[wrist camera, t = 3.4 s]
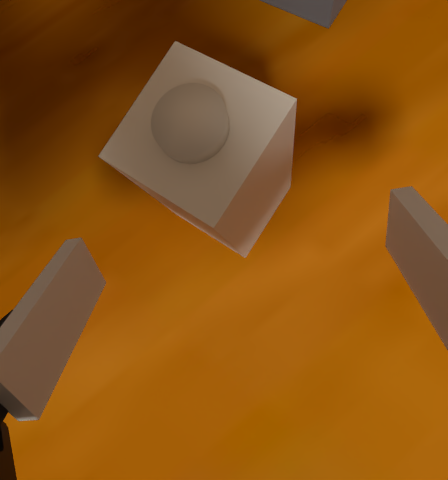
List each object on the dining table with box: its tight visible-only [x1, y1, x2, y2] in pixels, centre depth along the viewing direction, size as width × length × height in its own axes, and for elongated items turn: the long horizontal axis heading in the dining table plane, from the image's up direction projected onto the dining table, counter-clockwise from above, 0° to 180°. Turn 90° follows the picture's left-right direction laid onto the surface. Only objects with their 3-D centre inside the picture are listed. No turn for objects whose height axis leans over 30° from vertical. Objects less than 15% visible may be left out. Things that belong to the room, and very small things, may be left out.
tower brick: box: [98, 41, 297, 258], centre depth 18 cm, size 6×6×12 cm
